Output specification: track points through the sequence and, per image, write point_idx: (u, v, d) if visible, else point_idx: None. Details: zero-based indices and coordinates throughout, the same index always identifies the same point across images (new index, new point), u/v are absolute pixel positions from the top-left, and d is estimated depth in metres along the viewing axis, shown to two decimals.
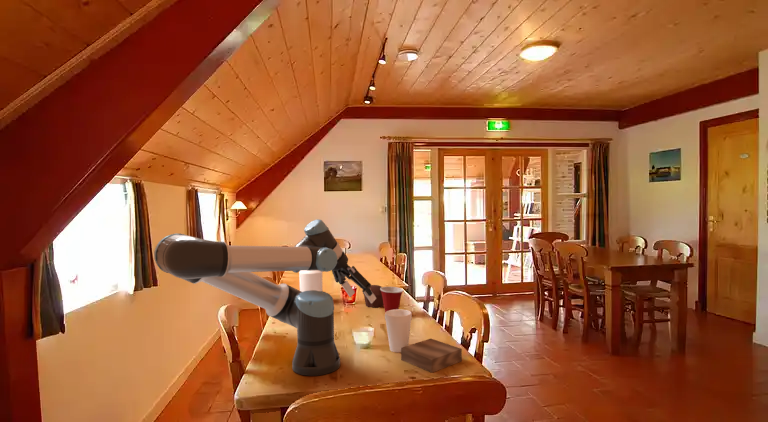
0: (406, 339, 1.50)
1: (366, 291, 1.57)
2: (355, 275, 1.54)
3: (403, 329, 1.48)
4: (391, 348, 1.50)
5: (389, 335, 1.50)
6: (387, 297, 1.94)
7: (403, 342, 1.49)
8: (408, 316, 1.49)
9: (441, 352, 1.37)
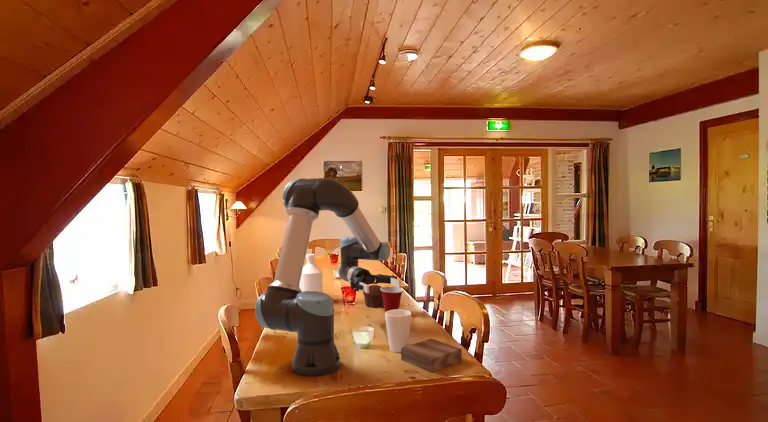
0: (406, 339, 1.50)
1: None
2: None
3: (403, 329, 1.48)
4: (391, 348, 1.50)
5: (389, 335, 1.50)
6: (387, 297, 1.94)
7: (403, 342, 1.49)
8: (408, 316, 1.49)
9: (441, 352, 1.37)
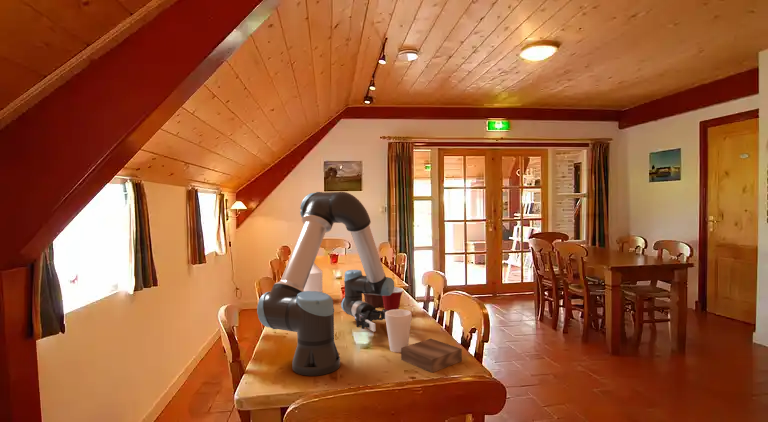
0: (406, 339, 1.50)
1: None
2: None
3: (403, 329, 1.48)
4: (391, 348, 1.50)
5: (389, 335, 1.50)
6: (387, 297, 1.94)
7: (403, 342, 1.49)
8: (408, 316, 1.49)
9: (441, 352, 1.37)
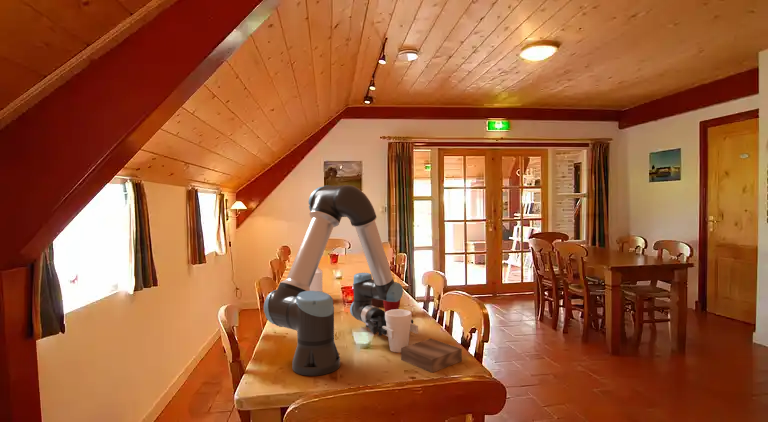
0: (406, 339, 1.50)
1: None
2: None
3: (403, 329, 1.48)
4: (391, 348, 1.50)
5: None
6: None
7: (403, 342, 1.49)
8: (408, 316, 1.49)
9: (441, 352, 1.37)
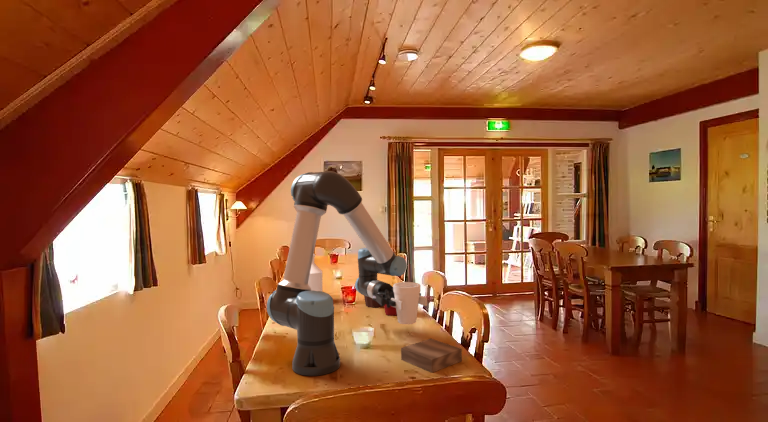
0: (415, 311, 1.48)
1: None
2: None
3: (412, 301, 1.46)
4: (399, 320, 1.48)
5: None
6: None
7: (412, 314, 1.47)
8: (417, 288, 1.47)
9: (441, 352, 1.37)
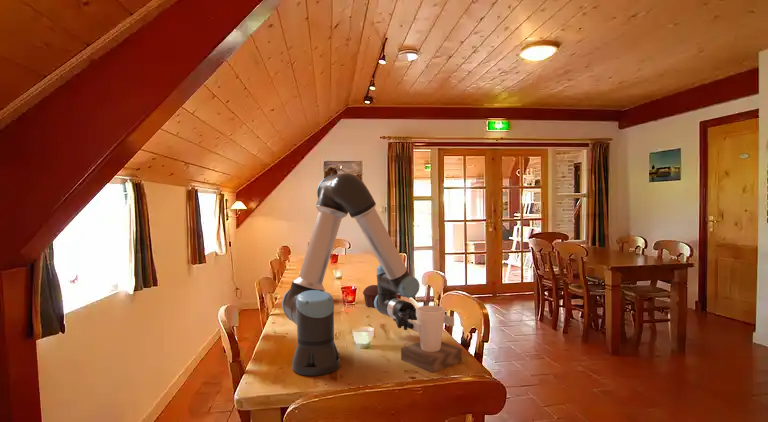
0: (439, 337, 1.38)
1: None
2: None
3: (436, 327, 1.37)
4: (423, 347, 1.39)
5: (421, 333, 1.39)
6: None
7: (436, 341, 1.38)
8: (442, 313, 1.38)
9: (441, 352, 1.37)
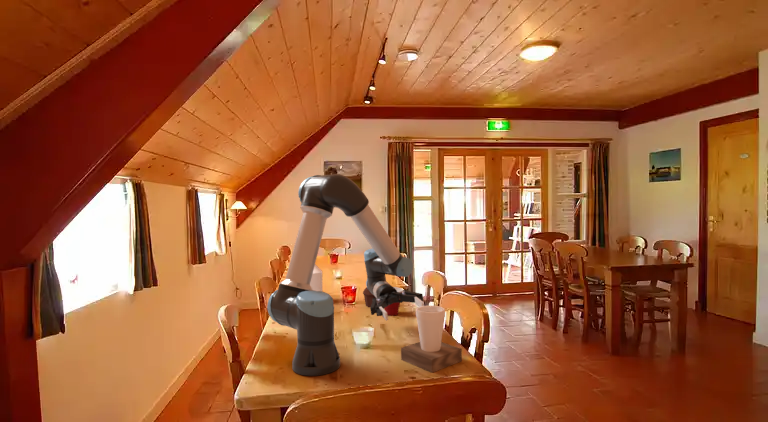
0: (439, 337, 1.38)
1: (418, 298, 1.55)
2: None
3: (436, 327, 1.37)
4: (423, 347, 1.39)
5: (421, 333, 1.39)
6: None
7: (436, 341, 1.38)
8: (441, 313, 1.38)
9: (441, 352, 1.37)
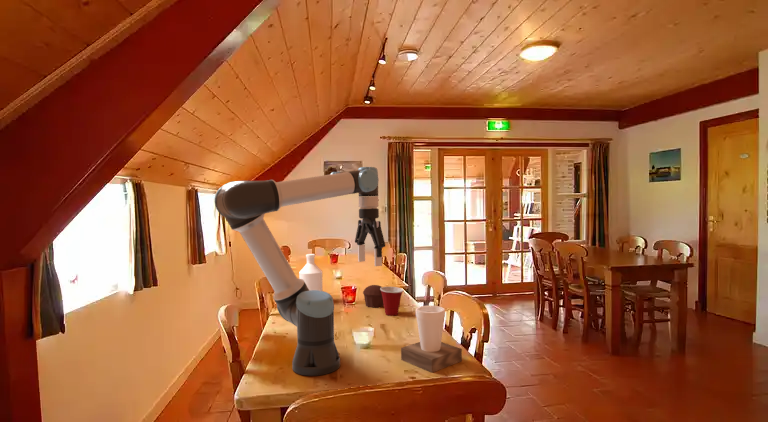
0: (439, 337, 1.38)
1: (377, 250, 1.56)
2: (376, 229, 1.56)
3: (436, 327, 1.37)
4: (423, 347, 1.39)
5: (421, 333, 1.39)
6: (387, 297, 1.94)
7: (436, 341, 1.38)
8: (441, 313, 1.38)
9: (441, 352, 1.37)
